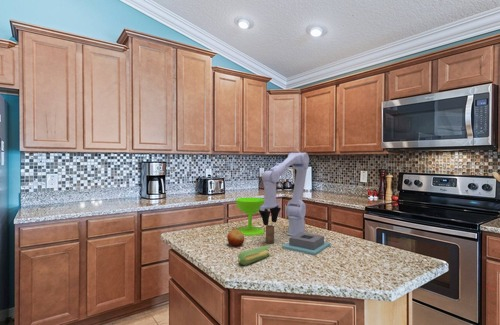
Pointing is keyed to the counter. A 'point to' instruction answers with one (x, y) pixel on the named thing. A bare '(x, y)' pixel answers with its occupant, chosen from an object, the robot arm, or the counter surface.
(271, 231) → the peg
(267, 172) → the robot arm
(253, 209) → the wineglass
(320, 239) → the socket board
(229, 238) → the fruit
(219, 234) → the counter surface
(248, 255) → the edible corn
